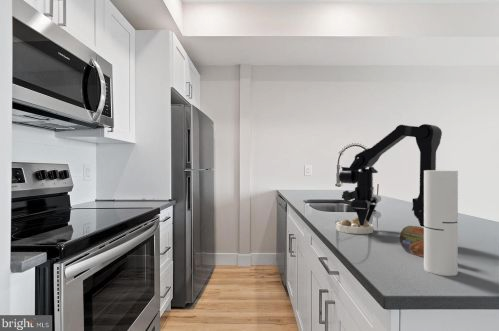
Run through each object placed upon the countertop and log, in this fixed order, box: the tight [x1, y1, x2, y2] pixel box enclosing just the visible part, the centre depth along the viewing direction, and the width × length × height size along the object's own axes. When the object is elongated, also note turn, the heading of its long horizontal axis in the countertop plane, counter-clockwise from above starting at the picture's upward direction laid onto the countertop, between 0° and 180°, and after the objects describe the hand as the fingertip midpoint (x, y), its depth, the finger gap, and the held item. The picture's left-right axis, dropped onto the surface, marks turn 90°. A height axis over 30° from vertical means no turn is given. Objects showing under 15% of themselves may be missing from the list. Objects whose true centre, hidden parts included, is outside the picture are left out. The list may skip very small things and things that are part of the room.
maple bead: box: [360, 220, 370, 227], centre depth 121 cm, size 4×4×4 cm
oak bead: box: [351, 217, 360, 226], centre depth 127 cm, size 4×4×4 cm
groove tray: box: [335, 220, 374, 235], centre depth 123 cm, size 14×14×2 cm
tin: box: [399, 225, 424, 259], centre depth 88 cm, size 15×3×8 cm, turn 25°
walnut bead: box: [342, 219, 351, 227], centre depth 122 cm, size 4×4×4 cm
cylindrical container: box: [423, 169, 459, 277], centre depth 76 cm, size 7×7×25 cm
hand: (364, 223), depth 121 cm, fingers open, 9 cm apart
